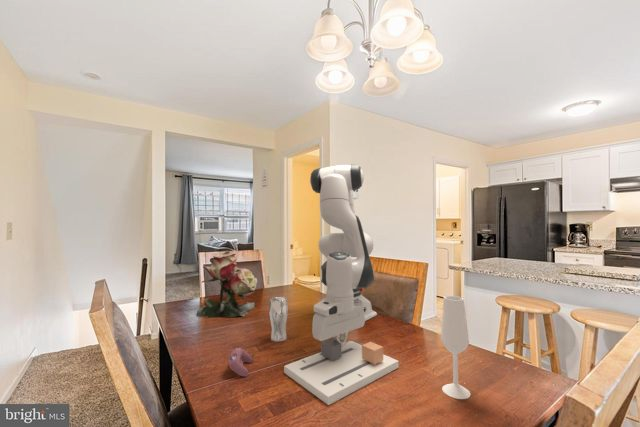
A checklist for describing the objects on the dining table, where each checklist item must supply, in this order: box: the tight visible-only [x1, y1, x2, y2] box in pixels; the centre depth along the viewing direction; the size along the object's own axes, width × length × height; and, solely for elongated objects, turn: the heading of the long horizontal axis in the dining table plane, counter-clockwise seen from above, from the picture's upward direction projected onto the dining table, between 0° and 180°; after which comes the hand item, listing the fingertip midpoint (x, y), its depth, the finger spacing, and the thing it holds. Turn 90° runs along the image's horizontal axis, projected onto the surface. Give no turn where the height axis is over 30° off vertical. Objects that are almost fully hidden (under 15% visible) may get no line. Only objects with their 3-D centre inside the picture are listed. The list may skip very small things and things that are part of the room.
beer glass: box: [268, 296, 289, 343], centre depth 112 cm, size 7×7×15 cm
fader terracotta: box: [361, 341, 384, 364], centre depth 88 cm, size 4×5×4 cm
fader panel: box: [283, 340, 400, 406], centre depth 87 cm, size 28×20×2 cm
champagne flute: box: [440, 295, 471, 400], centre depth 76 cm, size 7×7×24 cm
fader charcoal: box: [320, 338, 342, 360], centre depth 91 cm, size 4×5×4 cm
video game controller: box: [228, 347, 254, 378], centre depth 88 cm, size 10×5×7 cm, turn 5°
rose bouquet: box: [195, 250, 259, 319], centre depth 150 cm, size 26×29×30 cm
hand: (340, 346), depth 93 cm, fingers closed
